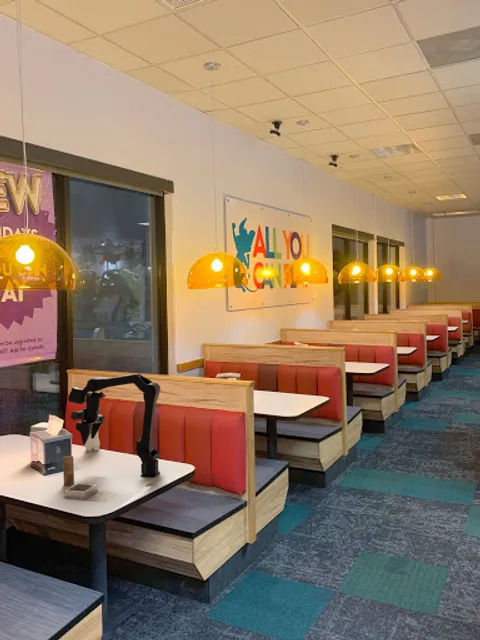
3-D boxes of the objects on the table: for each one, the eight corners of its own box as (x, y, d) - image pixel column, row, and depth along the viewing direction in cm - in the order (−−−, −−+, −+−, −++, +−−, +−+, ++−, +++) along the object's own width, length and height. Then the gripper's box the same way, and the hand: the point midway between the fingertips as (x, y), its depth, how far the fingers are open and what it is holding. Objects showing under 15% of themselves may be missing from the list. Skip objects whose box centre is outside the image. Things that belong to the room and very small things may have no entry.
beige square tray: (97, 491, 219) (97, 484, 219) (85, 499, 211) (84, 492, 211) (77, 489, 222) (77, 483, 222) (65, 497, 214) (64, 490, 213)
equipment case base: (117, 496, 217) (117, 492, 217) (104, 506, 208) (104, 502, 208) (76, 492, 222) (76, 488, 222) (61, 501, 213) (61, 498, 213)
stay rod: (76, 486, 229) (75, 456, 228) (70, 490, 225) (69, 459, 225) (67, 485, 230) (66, 455, 230) (61, 489, 226) (60, 458, 226)
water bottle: (102, 448, 284) (101, 399, 283) (94, 452, 278) (93, 402, 276) (90, 447, 287) (89, 398, 286) (82, 451, 280) (80, 401, 279)
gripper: (83, 399, 255) (79, 432, 256) (65, 407, 236) (61, 443, 237) (107, 403, 253) (102, 437, 254) (90, 412, 235) (86, 448, 236)
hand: (88, 441), depth 246 cm, fingers open, 9 cm apart
